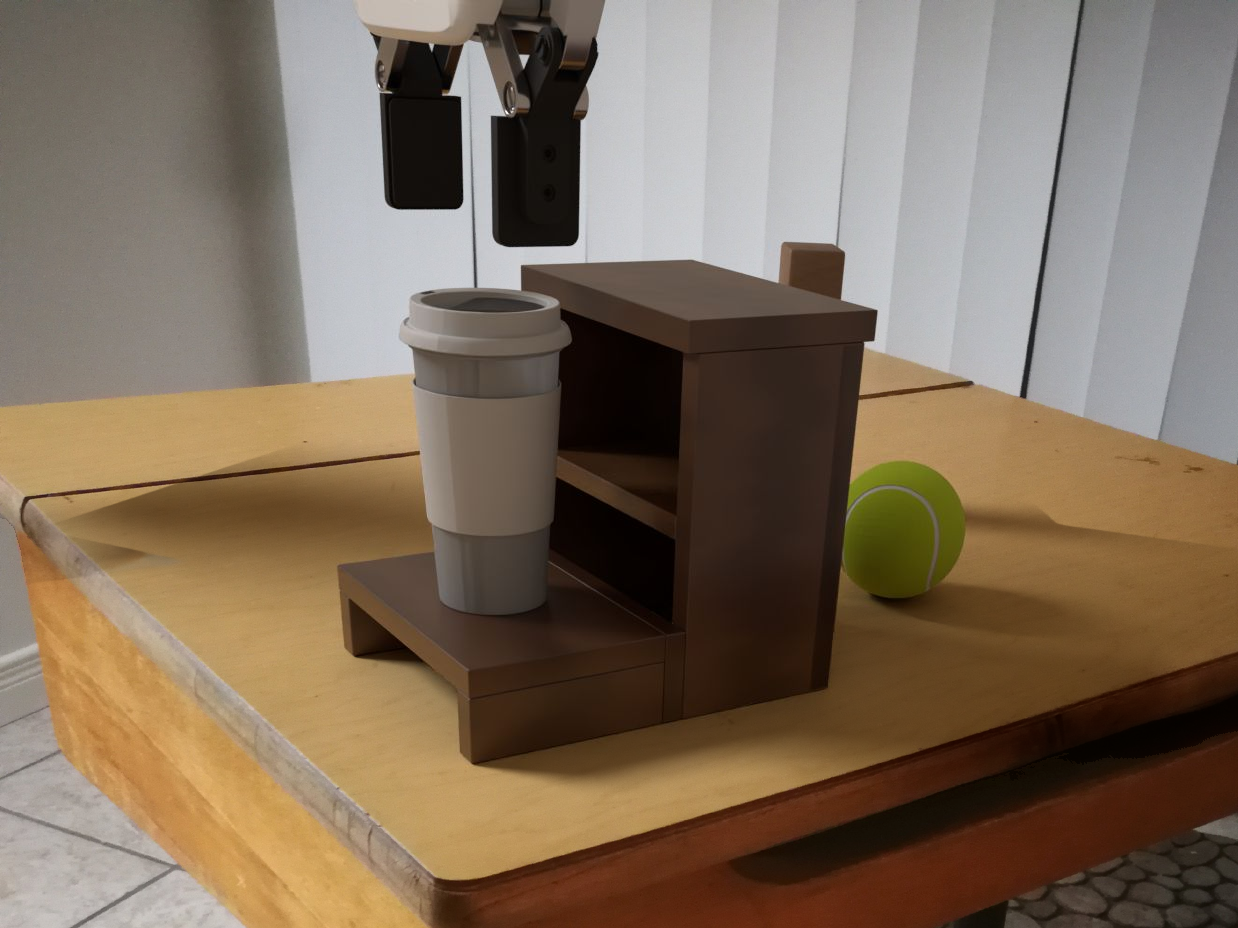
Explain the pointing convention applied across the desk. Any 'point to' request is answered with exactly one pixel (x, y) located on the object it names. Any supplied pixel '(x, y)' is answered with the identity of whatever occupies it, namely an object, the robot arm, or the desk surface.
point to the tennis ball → (901, 529)
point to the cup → (488, 439)
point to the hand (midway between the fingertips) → (477, 225)
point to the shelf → (658, 514)
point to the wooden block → (812, 267)
